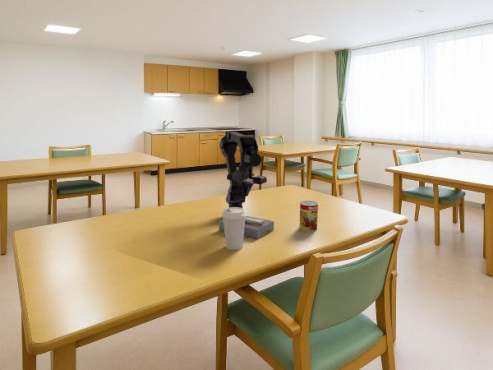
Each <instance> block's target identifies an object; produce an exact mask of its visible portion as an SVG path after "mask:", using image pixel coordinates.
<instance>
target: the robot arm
mask: <svg viewBox="0 0 493 370" xmlns="http://www.w3.org/2000/svg"><path fill="white" fill-rule="evenodd" d="M218 147H219V149H220V152H221V154H222V155H223V156H224V158H225V162H226V163H225V164H226V167H227V172H228V173H227V175H226V180H227V181H229V187H228V189H227V194H226V197H225V202H226V203H227V204H228V208H230V207H239V208H243V209H244V206H243V204H245V202H246V197H248V196H249V194H250V192H251V190H252V188H253V186H254V185H255V184H256V185H263V184H266V183H267V181H268V179H267V176H265V175H256V176H255V173H254V170H253V169H254V167H259V166H260V165H261V163H262V160H263V159H262V157H261V155H260V154H259V153H258V152H259V145H258V142H257V140H256V138H255V136H254V135H252V134H250V135H249V134H248V135H247V134H246V135H245V134H243V133H239V132H238V131H233V130H232V131H227V132H226V134H225V135H224V136H223V137H221V139H220V141H219V146H218ZM238 148H239V151H238V152H239V153H240V156H239V157H240V160H239V165H238V166H237V162H236V155H235V154H236V152H237V149H238Z"/></svg>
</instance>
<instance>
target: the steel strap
mask: <svg viewBox="0 0 493 370" xmlns="http://www.w3.org/2000/svg"><path fill="white" fill-rule="evenodd" d="M249 217H250V216H249ZM249 217H245V221H248V222H253V223H258V224H261V223H263V222H264V220H259V219H254V218H255V217H254V218H249Z"/></svg>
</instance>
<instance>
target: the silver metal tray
mask: <svg viewBox="0 0 493 370" xmlns="http://www.w3.org/2000/svg"><path fill="white" fill-rule="evenodd" d="M246 217H249V218H254V219H259V220H264V222H263V223H261V224H258V223H253V222H248V221H245V226H244V237H246V238H251V239H253V240H258V239H260V238H262V237H264V236H265V235H268V234H269V233H271V232H273V231H274V230H275V221H274V220H269V219H263V218H259V217H254V216H249V215H247V216H246ZM218 231H221V232H224V233H225V231H224V221H223V219H221V220H220V221H218Z"/></svg>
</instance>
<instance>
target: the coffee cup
mask: <svg viewBox="0 0 493 370" xmlns="http://www.w3.org/2000/svg"><path fill="white" fill-rule="evenodd" d="M246 216H248V215H247V212H246V211H245V209H244V207H243V208H239V207H230V208H229V207H226V208H224V209H223V212H222V213H221V217H222V220H223V221H224V231H225V232H224V231H223V232H224V239H225V248H226V249H227V250H230V251H239V250H241V249H243V247H244V237H245V236H244V226H245V217H246Z"/></svg>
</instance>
